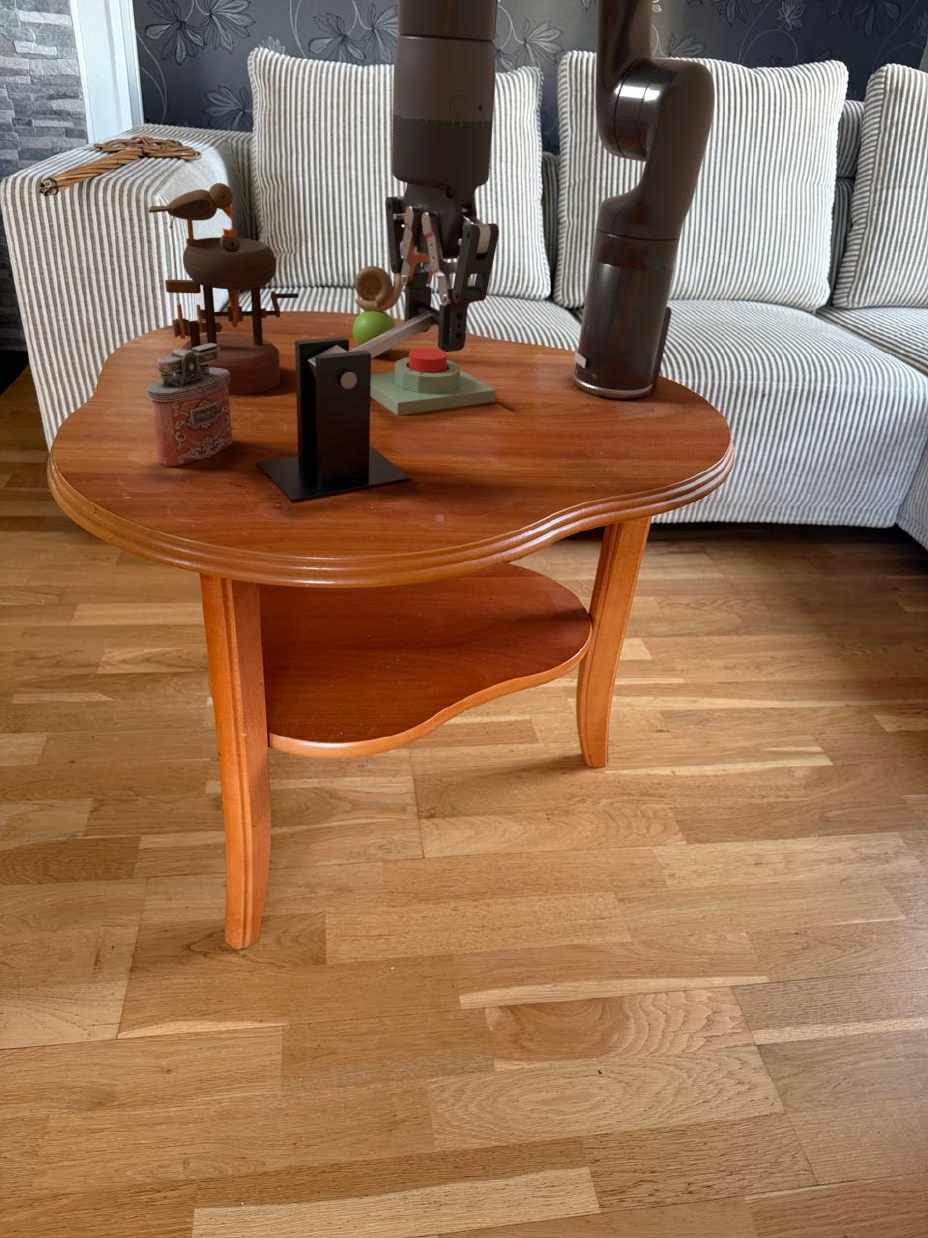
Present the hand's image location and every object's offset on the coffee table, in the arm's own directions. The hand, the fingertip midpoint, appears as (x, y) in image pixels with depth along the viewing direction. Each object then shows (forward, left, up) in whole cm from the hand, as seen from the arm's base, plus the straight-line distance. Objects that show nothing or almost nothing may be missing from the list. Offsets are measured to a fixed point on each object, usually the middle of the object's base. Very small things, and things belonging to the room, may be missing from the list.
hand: (433, 339), depth 74 cm
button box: (-9, -15, -12) cm, 21 cm away
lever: (+5, 0, -1) cm, 5 cm away
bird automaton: (+7, -29, -12) cm, 32 cm away
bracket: (+9, 0, -12) cm, 15 cm away
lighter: (+19, -8, -12) cm, 24 cm away
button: (-9, -15, -8) cm, 19 cm away
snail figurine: (-12, -32, -12) cm, 36 cm away
